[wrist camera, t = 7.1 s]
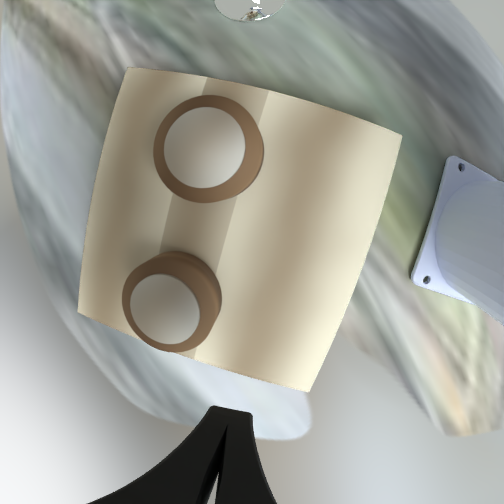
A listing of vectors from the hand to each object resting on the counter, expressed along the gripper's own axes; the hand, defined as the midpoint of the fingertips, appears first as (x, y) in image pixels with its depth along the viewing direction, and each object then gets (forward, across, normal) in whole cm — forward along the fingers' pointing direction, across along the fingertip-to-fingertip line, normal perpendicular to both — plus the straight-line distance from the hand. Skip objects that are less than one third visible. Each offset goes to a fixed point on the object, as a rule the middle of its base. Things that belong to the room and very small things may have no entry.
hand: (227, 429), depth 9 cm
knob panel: (+9, +2, -5) cm, 11 cm away
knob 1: (+9, +3, -9) cm, 13 cm away
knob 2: (+9, +4, -2) cm, 10 cm away
